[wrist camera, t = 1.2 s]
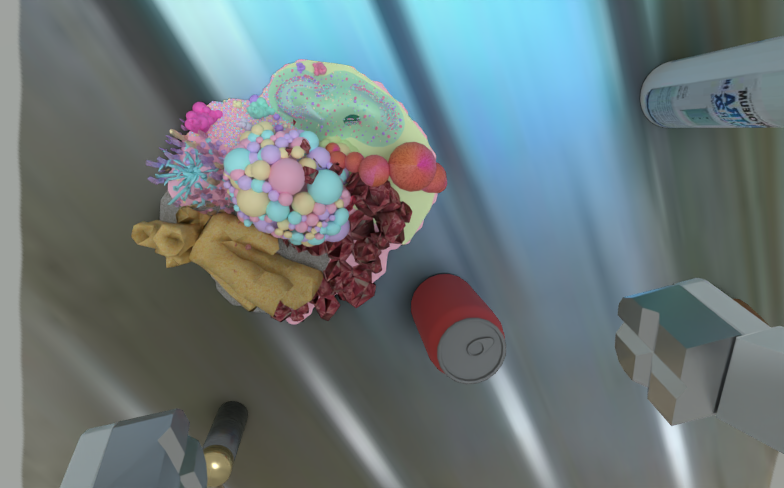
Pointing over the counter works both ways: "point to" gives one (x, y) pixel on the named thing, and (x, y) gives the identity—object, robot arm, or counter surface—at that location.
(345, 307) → the counter surface
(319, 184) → the candy landscape model
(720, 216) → the counter surface
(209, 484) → the grey and gold cylinder
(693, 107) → the spray can
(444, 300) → the beer can
